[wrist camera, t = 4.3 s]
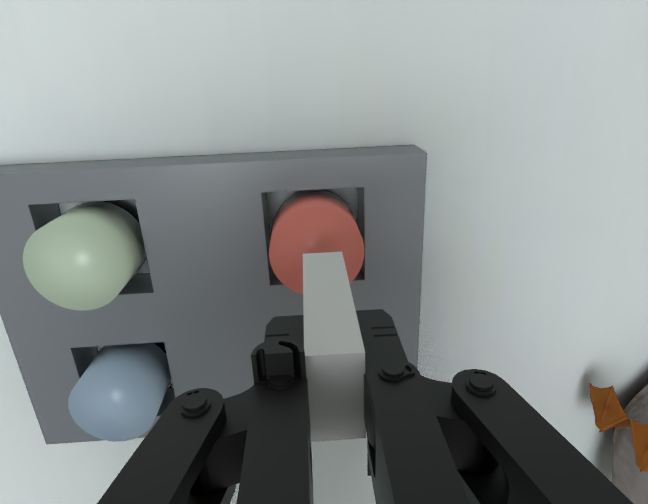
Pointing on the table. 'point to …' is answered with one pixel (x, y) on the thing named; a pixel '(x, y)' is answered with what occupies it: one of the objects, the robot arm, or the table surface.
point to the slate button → (121, 391)
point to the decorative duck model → (625, 439)
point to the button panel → (200, 263)
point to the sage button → (85, 255)
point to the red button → (313, 235)
